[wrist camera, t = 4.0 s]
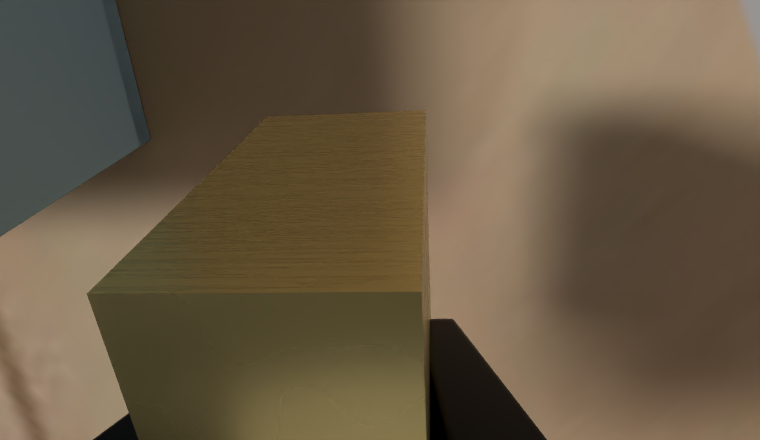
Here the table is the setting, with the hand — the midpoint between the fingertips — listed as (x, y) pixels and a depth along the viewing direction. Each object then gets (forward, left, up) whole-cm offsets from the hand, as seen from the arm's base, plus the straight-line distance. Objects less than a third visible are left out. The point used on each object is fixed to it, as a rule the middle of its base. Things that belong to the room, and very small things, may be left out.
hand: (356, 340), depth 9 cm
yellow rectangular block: (+1, 0, -1) cm, 1 cm away
